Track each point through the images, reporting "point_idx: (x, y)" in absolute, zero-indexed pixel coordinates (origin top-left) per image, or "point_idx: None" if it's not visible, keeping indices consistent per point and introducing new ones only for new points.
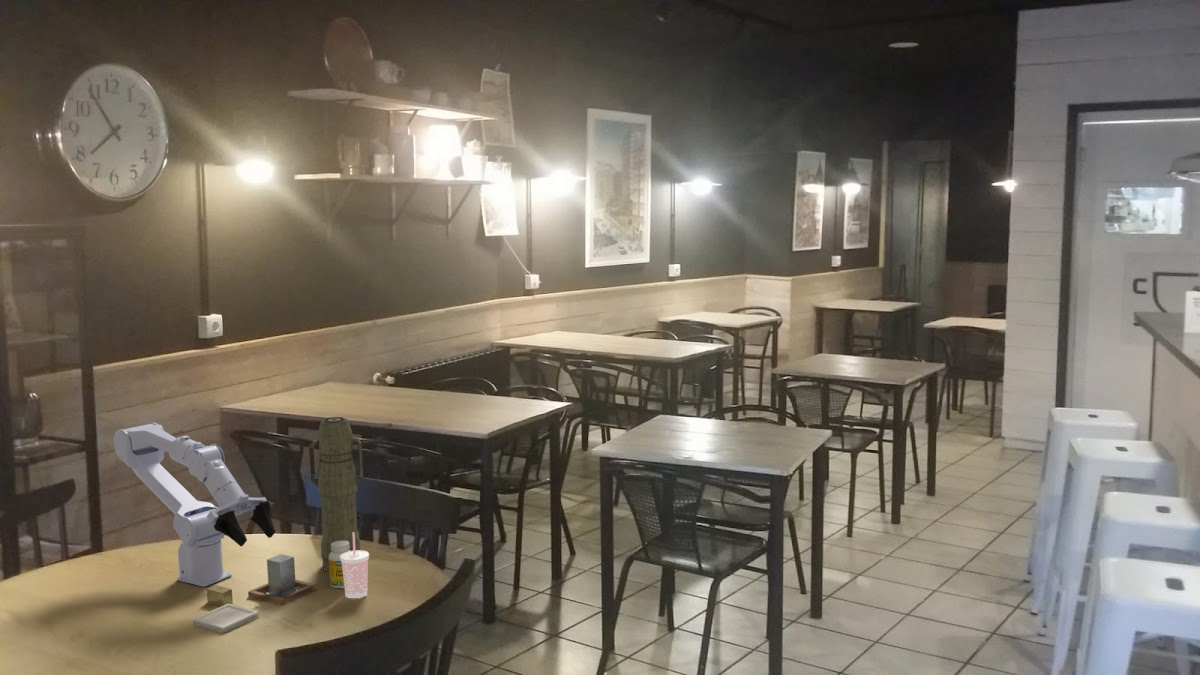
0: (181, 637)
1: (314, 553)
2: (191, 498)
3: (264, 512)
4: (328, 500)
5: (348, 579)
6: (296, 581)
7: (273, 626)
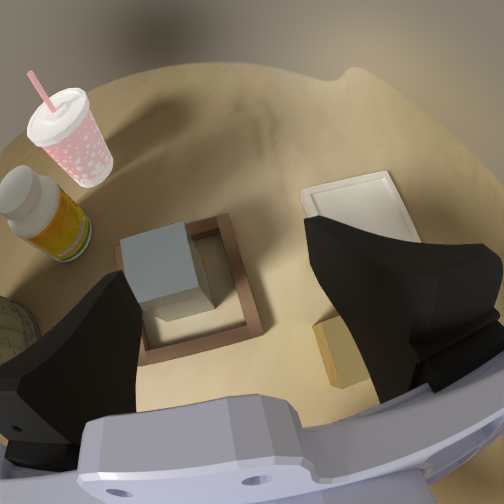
0: (445, 217)
1: None
2: None
3: (66, 340)
4: None
5: (99, 132)
6: None
7: (294, 139)
